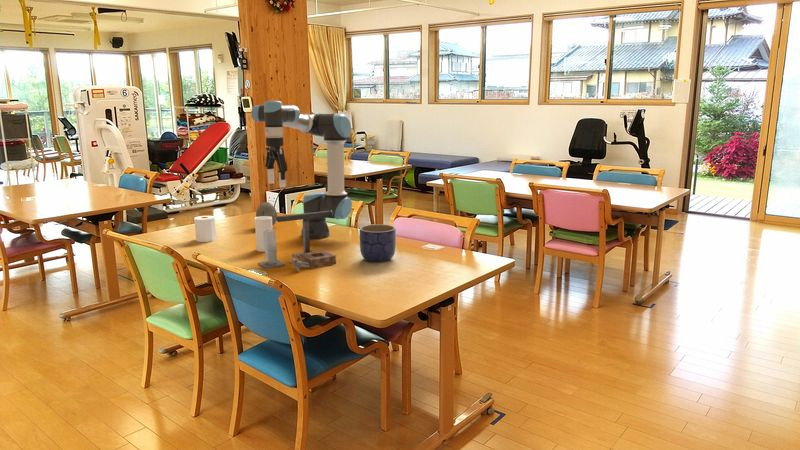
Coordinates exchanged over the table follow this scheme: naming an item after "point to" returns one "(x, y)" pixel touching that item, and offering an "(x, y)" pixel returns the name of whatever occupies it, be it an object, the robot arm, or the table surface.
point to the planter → (377, 242)
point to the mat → (271, 265)
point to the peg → (270, 247)
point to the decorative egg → (267, 211)
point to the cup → (261, 225)
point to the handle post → (305, 238)
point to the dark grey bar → (304, 216)
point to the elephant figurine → (298, 263)
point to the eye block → (318, 258)
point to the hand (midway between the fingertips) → (276, 185)
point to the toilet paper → (205, 228)
